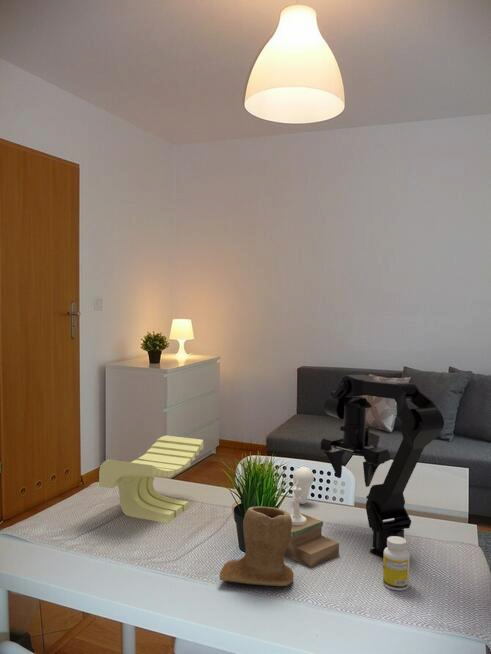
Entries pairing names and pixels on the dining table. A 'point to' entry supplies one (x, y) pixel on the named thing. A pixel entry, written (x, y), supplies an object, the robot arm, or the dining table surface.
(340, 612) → the dining table surface
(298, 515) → the chess piece
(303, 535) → the step stand
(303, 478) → the lightbulb
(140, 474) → the slatted curved stool
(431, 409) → the robot arm
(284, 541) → the brown suede boot
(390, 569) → the supplement bottle
